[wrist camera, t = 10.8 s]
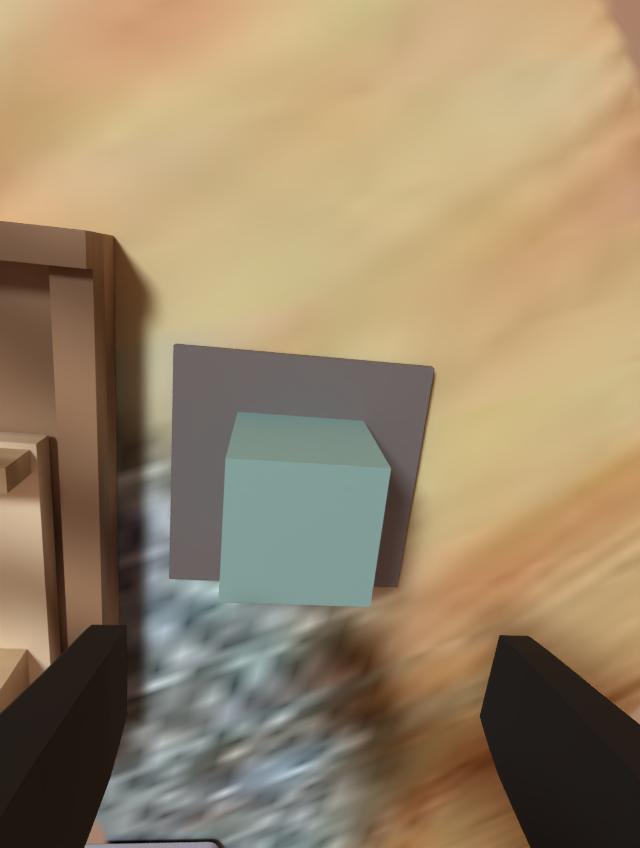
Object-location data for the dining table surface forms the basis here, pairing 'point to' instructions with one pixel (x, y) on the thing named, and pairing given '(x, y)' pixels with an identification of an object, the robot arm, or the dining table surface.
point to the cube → (301, 511)
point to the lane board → (66, 400)
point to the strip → (26, 564)
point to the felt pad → (294, 396)
